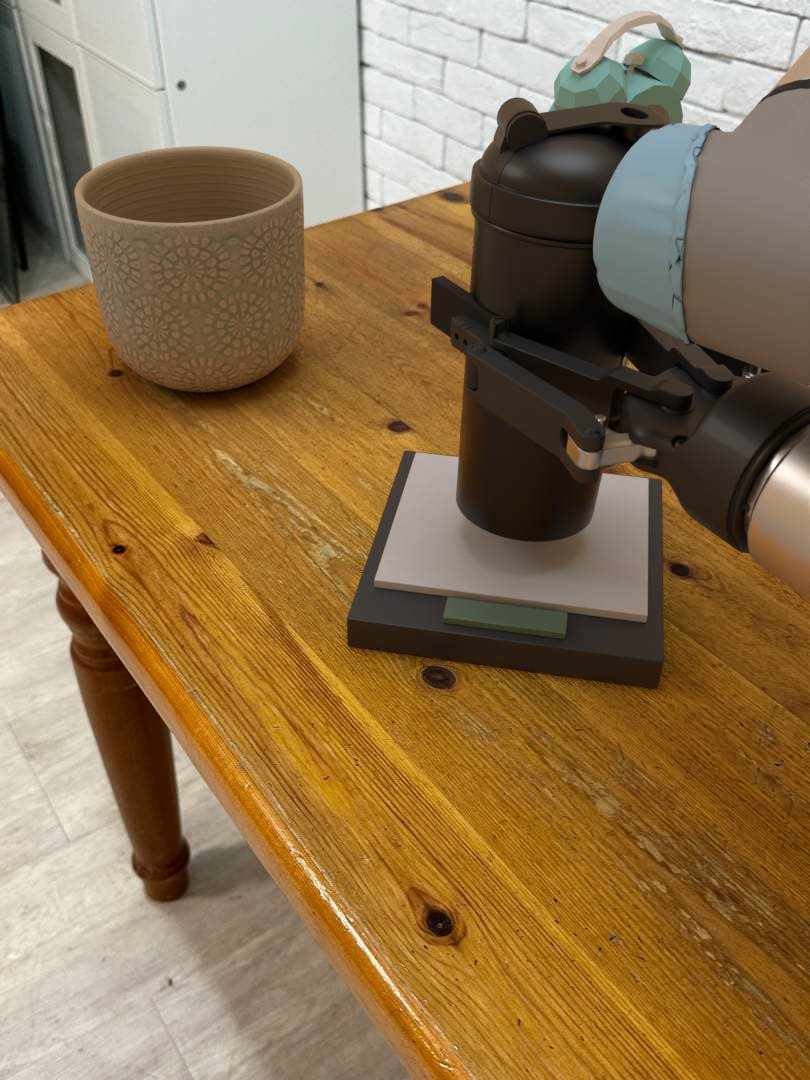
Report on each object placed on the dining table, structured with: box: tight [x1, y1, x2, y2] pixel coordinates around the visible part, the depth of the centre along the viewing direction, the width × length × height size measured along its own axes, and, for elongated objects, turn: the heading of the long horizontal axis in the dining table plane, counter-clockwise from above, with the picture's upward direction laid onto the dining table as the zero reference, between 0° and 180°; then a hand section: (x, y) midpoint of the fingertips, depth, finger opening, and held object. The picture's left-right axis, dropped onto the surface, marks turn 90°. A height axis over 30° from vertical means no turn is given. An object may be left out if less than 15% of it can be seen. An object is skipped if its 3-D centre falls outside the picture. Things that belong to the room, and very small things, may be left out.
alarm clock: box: [548, 10, 692, 130], centre depth 112 cm, size 17×10×20 cm, turn 130°
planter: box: [73, 145, 306, 393], centre depth 83 cm, size 17×17×15 cm
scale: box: [346, 450, 665, 690], centre depth 66 cm, size 18×18×3 cm
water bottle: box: [456, 97, 664, 542], centre depth 58 cm, size 10×10×23 cm
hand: (484, 287), depth 60 cm, fingers closed on water bottle, 6 cm apart
